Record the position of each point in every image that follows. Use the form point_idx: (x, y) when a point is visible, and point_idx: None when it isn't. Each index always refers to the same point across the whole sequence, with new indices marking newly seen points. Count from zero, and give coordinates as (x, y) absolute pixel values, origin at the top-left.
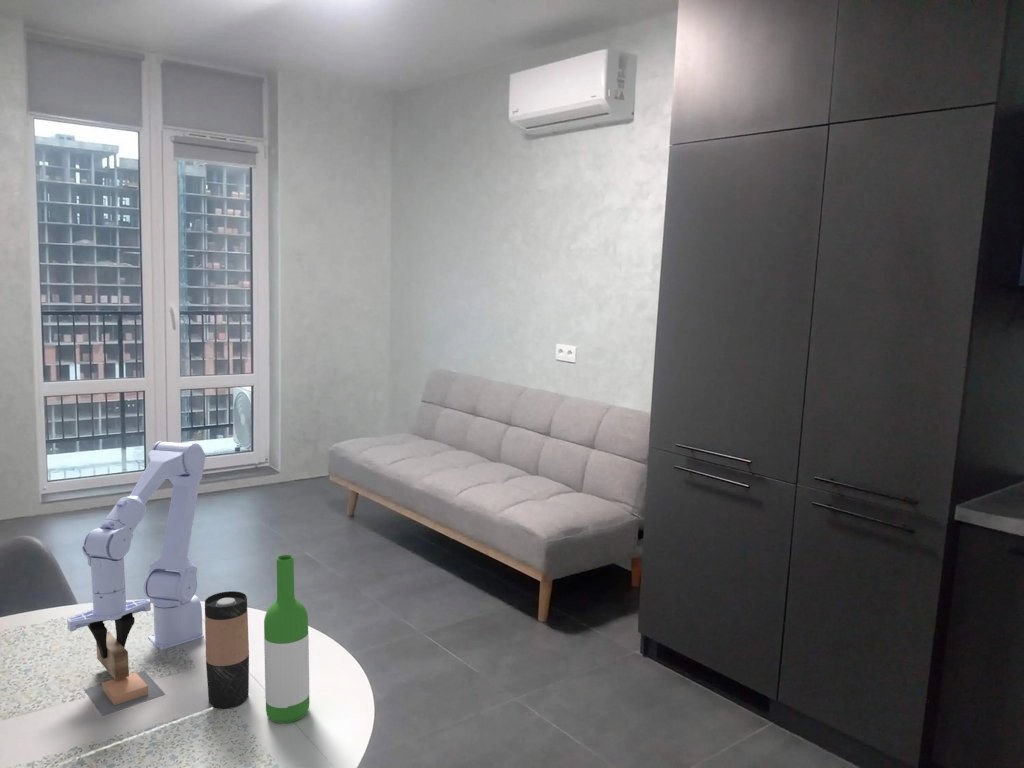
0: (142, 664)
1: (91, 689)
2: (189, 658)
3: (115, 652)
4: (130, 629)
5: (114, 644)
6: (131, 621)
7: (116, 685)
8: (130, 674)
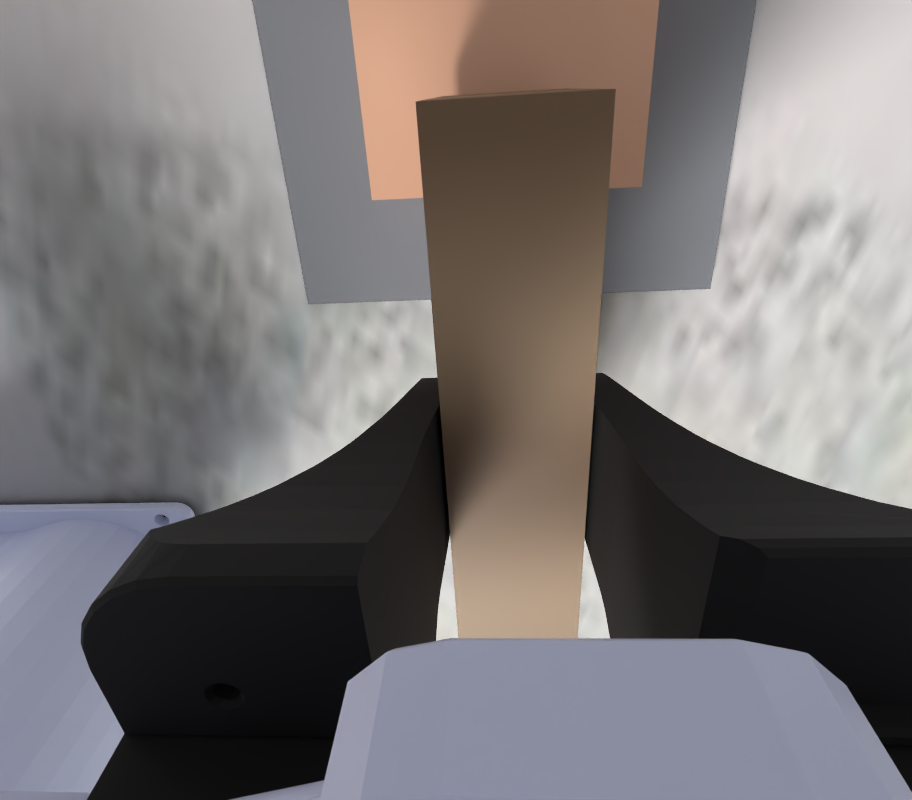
0: (307, 414)
1: (674, 255)
2: (17, 310)
3: (563, 200)
4: (268, 493)
5: (500, 442)
6: (159, 555)
7: (571, 28)
8: (416, 182)
